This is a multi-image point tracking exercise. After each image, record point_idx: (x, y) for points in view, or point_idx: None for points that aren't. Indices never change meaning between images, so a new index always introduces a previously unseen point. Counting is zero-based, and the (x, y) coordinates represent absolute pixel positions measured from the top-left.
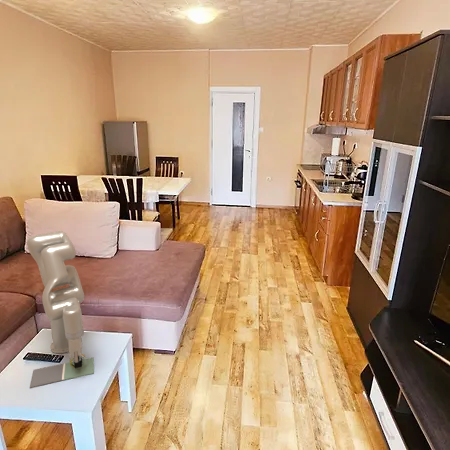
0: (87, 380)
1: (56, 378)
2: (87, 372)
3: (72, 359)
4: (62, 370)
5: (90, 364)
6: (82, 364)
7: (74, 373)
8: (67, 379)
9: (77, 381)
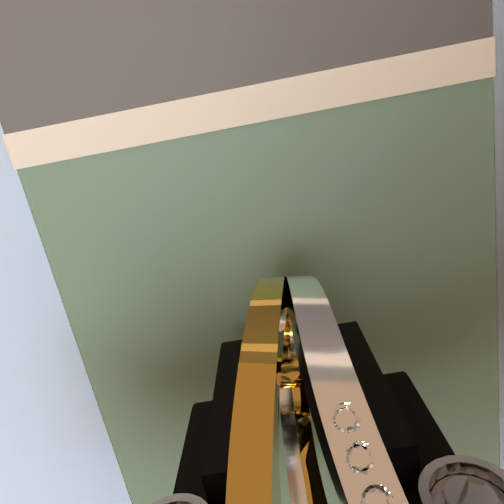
0: (34, 489)
1: (41, 10)
2: (162, 488)
3: (236, 478)
4: (267, 75)
5: (334, 498)
6: (306, 444)
7: (161, 315)
8: (46, 224)
9: (14, 375)
